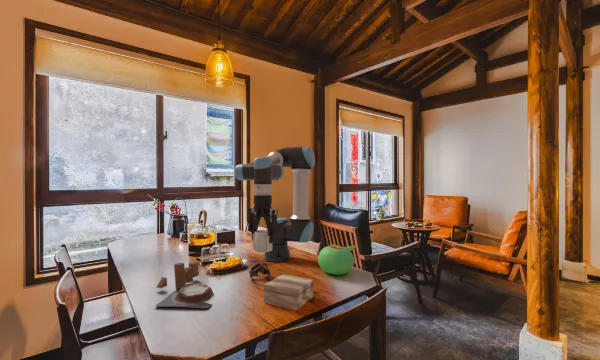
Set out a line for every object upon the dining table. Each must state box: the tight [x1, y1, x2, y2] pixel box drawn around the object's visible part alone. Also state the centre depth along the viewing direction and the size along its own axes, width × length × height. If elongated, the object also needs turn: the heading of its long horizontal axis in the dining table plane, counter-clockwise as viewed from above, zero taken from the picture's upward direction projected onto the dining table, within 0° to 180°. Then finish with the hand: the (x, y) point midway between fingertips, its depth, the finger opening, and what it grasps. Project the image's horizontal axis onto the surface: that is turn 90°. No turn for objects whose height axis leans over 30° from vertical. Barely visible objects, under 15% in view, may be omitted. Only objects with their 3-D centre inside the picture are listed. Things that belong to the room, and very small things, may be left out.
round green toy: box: [317, 243, 358, 276], centre depth 142 cm, size 18×17×15 cm
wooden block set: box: [156, 261, 200, 289], centre depth 125 cm, size 18×9×10 cm, turn 149°
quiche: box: [155, 283, 215, 309], centre depth 114 cm, size 21×20×4 cm
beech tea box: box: [263, 273, 314, 311], centre depth 111 cm, size 14×14×7 cm
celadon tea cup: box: [254, 229, 269, 253], centre depth 119 cm, size 7×7×8 cm
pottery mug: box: [248, 262, 272, 281], centre depth 134 cm, size 12×9×8 cm
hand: (262, 249), depth 119 cm, fingers closed on celadon tea cup, 7 cm apart
